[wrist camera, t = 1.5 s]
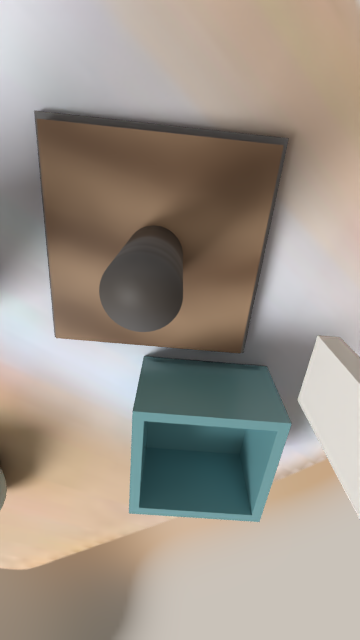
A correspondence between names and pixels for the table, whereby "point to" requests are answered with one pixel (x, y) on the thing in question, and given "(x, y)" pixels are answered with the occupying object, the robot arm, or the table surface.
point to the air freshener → (2, 488)
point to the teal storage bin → (205, 439)
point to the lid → (154, 233)
